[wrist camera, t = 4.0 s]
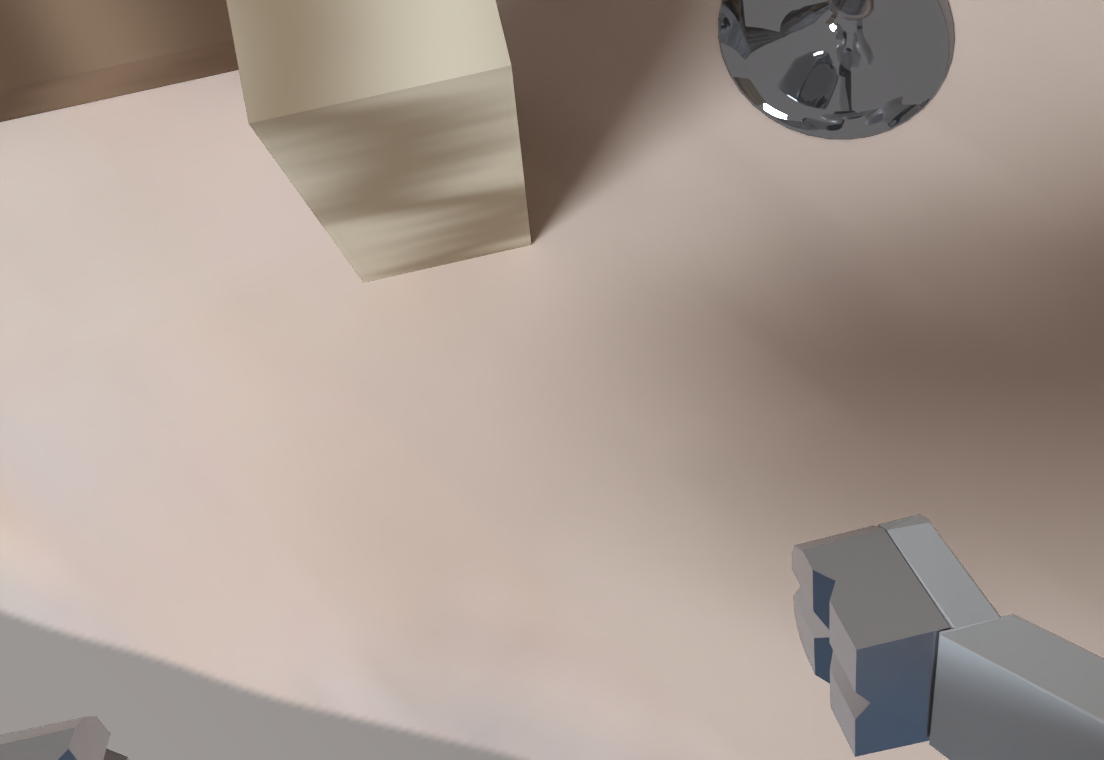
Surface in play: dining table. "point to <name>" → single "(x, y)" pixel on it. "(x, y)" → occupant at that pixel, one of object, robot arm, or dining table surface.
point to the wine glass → (837, 60)
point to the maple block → (389, 124)
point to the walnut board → (106, 49)
